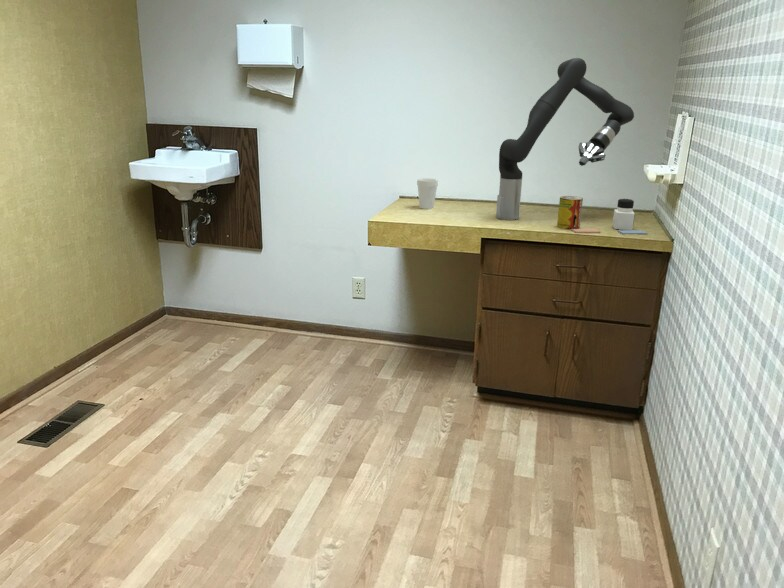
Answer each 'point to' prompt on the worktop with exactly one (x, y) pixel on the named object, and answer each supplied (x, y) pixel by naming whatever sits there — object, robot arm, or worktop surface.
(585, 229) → the terracotta tag
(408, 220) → the worktop surface
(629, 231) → the slate-blue tag
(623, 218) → the medicine bottle
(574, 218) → the yellow red tin can
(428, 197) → the foam cup
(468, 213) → the worktop surface
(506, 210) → the robot arm
